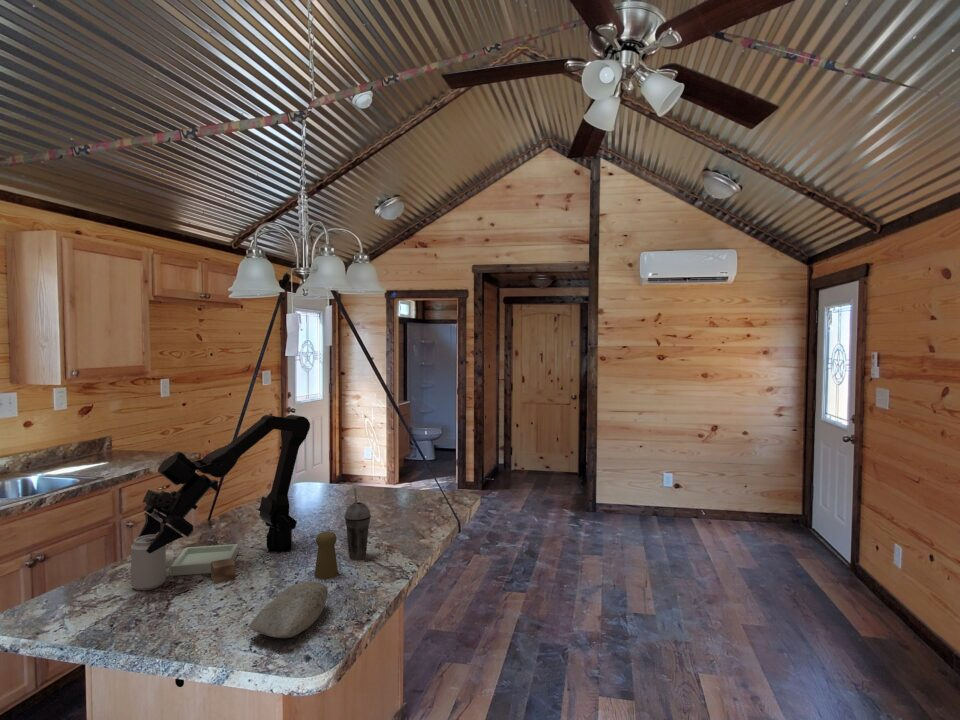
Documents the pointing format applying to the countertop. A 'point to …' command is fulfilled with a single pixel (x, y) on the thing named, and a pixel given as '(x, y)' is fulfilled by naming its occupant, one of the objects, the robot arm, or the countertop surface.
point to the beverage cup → (357, 529)
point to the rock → (291, 610)
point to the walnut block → (223, 570)
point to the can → (147, 564)
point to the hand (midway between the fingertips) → (142, 548)
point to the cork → (326, 556)
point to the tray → (201, 559)
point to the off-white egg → (169, 558)
